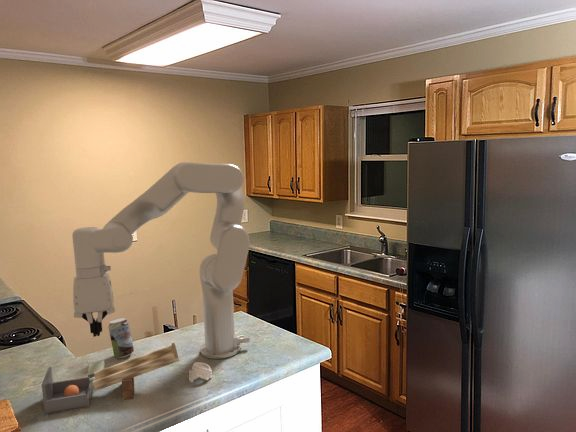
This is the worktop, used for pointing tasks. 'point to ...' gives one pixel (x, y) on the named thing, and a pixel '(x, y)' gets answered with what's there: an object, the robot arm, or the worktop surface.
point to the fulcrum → (128, 388)
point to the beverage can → (120, 337)
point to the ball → (71, 391)
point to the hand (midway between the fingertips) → (96, 334)
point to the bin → (55, 394)
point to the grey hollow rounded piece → (200, 371)
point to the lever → (131, 367)
